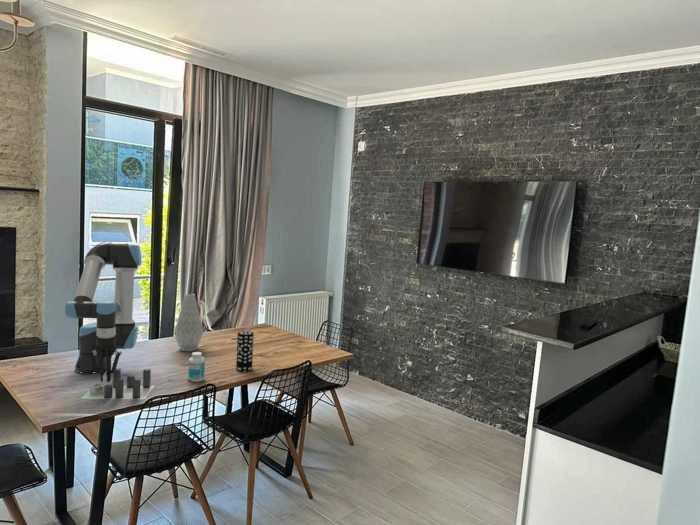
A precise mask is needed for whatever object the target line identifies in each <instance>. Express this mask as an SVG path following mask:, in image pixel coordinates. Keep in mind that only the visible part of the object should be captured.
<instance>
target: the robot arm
mask: <svg viewBox="0 0 700 525" xmlns="http://www.w3.org/2000/svg"><path fill="white" fill-rule="evenodd" d="M83 263H84V264H83V265H84V267H83V270H82V273H81V276H80V280H79V283H78V286H77V289H76V292H75V295H74V298H73V300H69V301H67V302H66V303H65V307H64V314H65V317H66V318H69V319H96V322H91V323H90V322H89V323H87V324H84V325H82V326H81V327H80V328H79V334H78V336H79V337H78V338H79V339H78V340H79V341H78V342H79V343H78V344H79V345H78V347H79V348H78V349H79V350H78V352H79V354H78V357H77V360H76V364H75V366H74V371H75V370H76V371H78V372H82V373H93V372H96V373H95V374H98V375H99V376H100V382H101V383H102V384H103V390H104V386H105V385H109V383H110V382H111V381H112V379H111V378H112V375H113V373H114V372H115V371H116V369H117V368H118V362H119V359H120V356H121V355H122V353H123V352H122V351H121V350H127V349H129V350H130V349H133V348H134V347H135V346H136V343H137V339H138V334H139V326H138V325H136V322H135V319H133V306H134V289H135V288H134V286H135V285H134V284H135V283H134V282H135V281H134V280H135V272H136V271H138V269H139V268H138V267H139V266H141V265H142V252H141V248H140V245H139V243H135V242H129V241H128V242H127V241H126V242H125V241H124V242H122V241H103V242H101V243H98V244H95V245H94V246H93V247H92V248H91V249H90V250H89V251H88V252H87V253H86V254H85V257H84V260H83ZM106 265H108V266H110V265H111V266H112V270H113V271H115V284H114V285H115V286H114V300H113V299H111V300H101V301H100V300H99V301H94V298H95V294H96V290H97V288H98V283H99V280H100V276H101V274H102V270H103V269H104V268H105V266H106ZM119 350H120V351H119ZM113 355H115V356H114V360H113V363H112V356H113ZM105 370H106V371H105ZM76 371H75V372H76ZM78 372H77V373H78ZM82 373H81V374H82ZM93 374H94V373H93Z"/></svg>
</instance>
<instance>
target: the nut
mask: <svg viewBox="0 0 700 525" xmlns="http://www.w3.org/2000/svg"><path fill="white" fill-rule="evenodd" d="M89 390H90V393H91V394H102V393H103V392H104V390H103V383H102V382H101V383H100V382H98V383H92V384H91V385H89Z"/></svg>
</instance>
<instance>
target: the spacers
mask: <svg viewBox="0 0 700 525" xmlns="http://www.w3.org/2000/svg"><path fill="white" fill-rule="evenodd" d="M151 371H152V370H151V369H149V368H146V369H145V368H144V369H143V371H142V379H141V378H136V377H135V376H136V375H132V374H129V375H127V376H126V385H127V388H133V391H132V398H133V399H132V400H139V399H138V398H140V392H141V386H143V388H150V386H151V378H152V376H151V375H152V372H151ZM124 380H125V379H124V378H122V369H121V368H116V371H115V372H114V373H113V374H112V384H108V385H105V386H104V398H105V399H104V400H110V399H109V398H112V394H113V388H115V398H116V399H115V400H122V399H121V398H123V393H124ZM141 383H142V385H141Z"/></svg>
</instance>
